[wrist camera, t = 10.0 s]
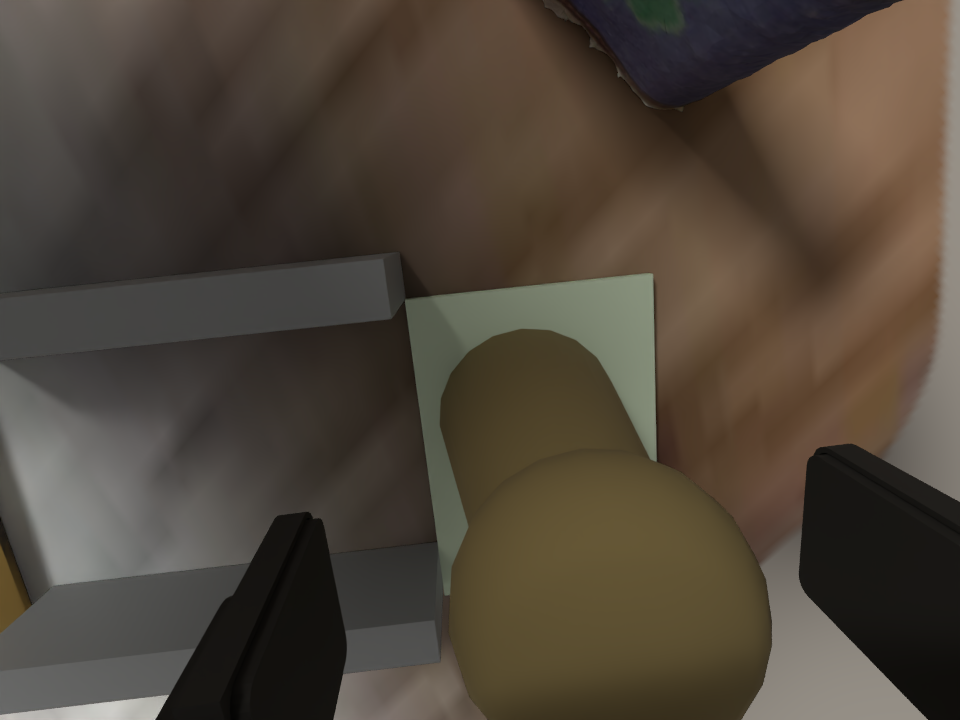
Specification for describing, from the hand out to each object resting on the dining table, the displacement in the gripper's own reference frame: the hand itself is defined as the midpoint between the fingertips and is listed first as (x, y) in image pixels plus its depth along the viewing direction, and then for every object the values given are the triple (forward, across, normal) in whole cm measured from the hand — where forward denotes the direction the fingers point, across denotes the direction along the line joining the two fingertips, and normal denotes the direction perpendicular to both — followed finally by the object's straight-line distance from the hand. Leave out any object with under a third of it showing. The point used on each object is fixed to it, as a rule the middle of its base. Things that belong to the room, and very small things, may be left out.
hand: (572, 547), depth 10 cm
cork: (+8, 0, 0) cm, 8 cm away
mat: (+8, -1, +2) cm, 9 cm away
